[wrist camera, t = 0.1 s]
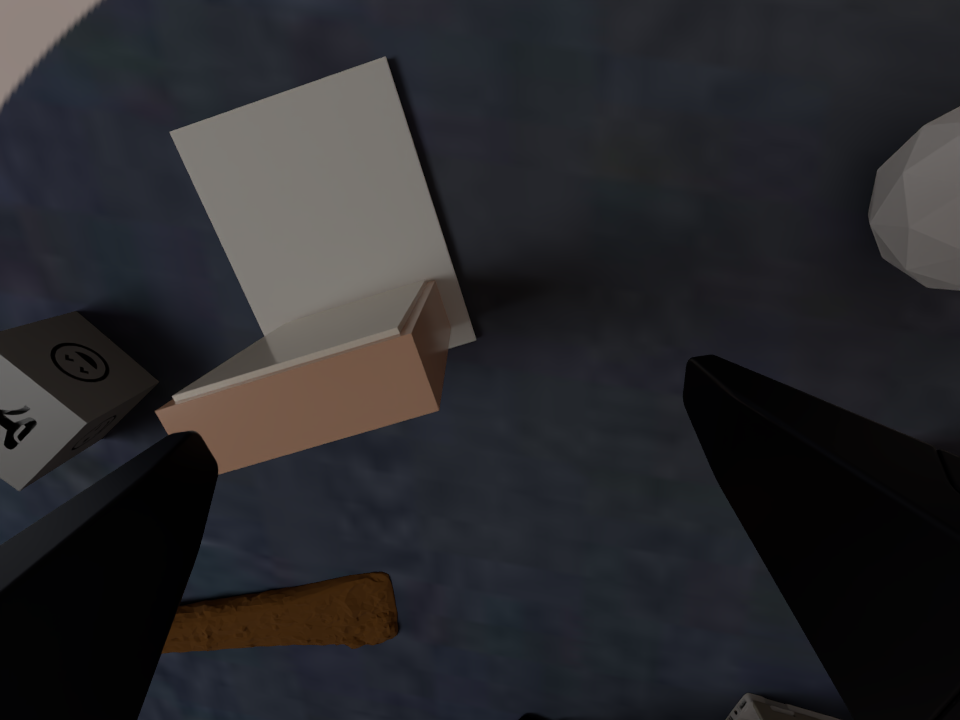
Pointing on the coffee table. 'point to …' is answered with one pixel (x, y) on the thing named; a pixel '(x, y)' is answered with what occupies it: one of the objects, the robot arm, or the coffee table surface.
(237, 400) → the tile
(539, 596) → the coffee table surface
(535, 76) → the coffee table surface
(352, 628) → the primitive tool
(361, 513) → the coffee table surface
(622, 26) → the coffee table surface
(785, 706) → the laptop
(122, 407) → the dice cube
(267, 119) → the mat
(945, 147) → the geometric ball
